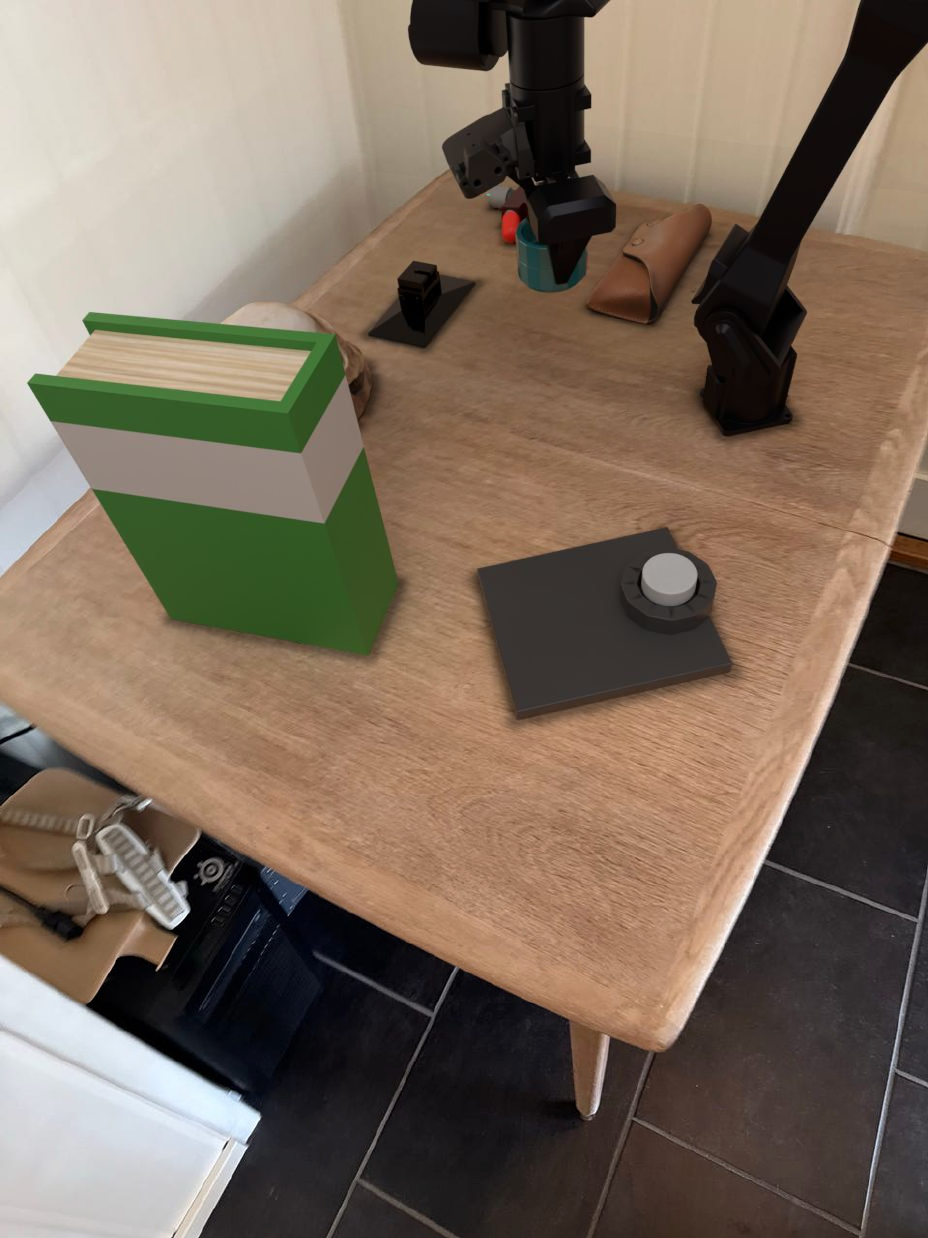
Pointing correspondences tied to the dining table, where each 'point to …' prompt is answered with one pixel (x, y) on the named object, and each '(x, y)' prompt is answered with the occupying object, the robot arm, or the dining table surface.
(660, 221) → the sunglasses case
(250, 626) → the hardback book
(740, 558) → the dining table surface
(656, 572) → the button
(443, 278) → the build plate
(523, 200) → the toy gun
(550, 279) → the bowl
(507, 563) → the dark grey button base
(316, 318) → the coin bank
